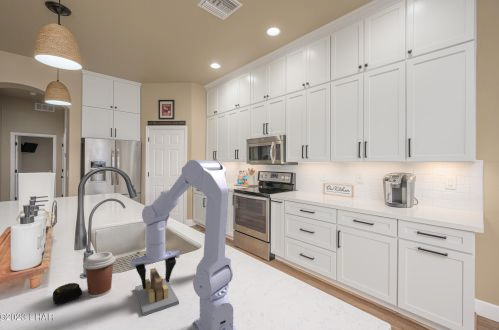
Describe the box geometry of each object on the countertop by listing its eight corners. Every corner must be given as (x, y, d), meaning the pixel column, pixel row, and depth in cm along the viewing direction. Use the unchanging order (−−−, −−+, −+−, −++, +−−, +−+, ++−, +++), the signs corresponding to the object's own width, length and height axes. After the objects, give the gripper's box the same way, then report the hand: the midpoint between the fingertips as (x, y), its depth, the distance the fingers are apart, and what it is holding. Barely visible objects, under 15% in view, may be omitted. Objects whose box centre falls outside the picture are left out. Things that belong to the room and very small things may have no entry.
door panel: (162, 300, 70) (162, 280, 70) (156, 302, 69) (156, 282, 69) (155, 285, 78) (155, 267, 78) (150, 286, 78) (150, 269, 77)
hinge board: (179, 303, 70) (179, 290, 70) (143, 316, 64) (143, 301, 64) (165, 280, 83) (165, 269, 83) (135, 289, 78) (135, 277, 78)
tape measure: (53, 309, 67) (53, 296, 67) (51, 299, 72) (51, 287, 72) (82, 299, 72) (82, 287, 72) (78, 290, 77) (78, 279, 77)
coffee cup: (118, 282, 82) (118, 249, 82) (112, 296, 73) (111, 259, 73) (89, 286, 79) (88, 252, 79) (78, 301, 71) (78, 263, 70)
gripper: (175, 234, 81) (175, 273, 81) (129, 242, 73) (129, 285, 73) (181, 240, 75) (181, 281, 75) (131, 250, 67) (132, 296, 67)
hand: (156, 284), depth 74 cm, fingers open, 6 cm apart
